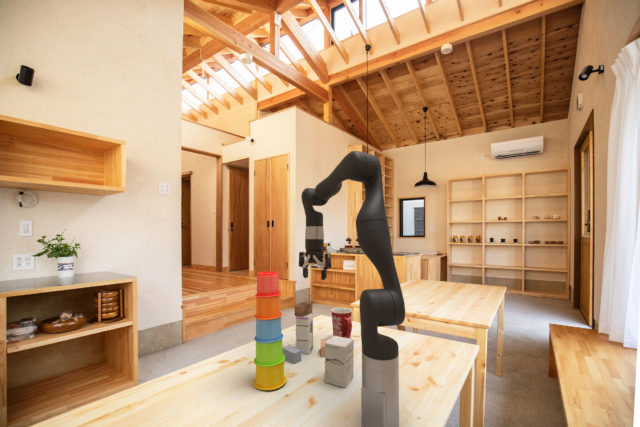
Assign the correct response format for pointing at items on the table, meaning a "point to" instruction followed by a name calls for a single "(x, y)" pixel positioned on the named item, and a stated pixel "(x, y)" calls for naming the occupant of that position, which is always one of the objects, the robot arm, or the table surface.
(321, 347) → the terracotta brick
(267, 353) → the stacking cups
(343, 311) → the mug
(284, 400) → the table surface
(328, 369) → the supplement box
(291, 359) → the slate-blue brick
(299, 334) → the syrup box
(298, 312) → the walnut brick
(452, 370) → the table surface
